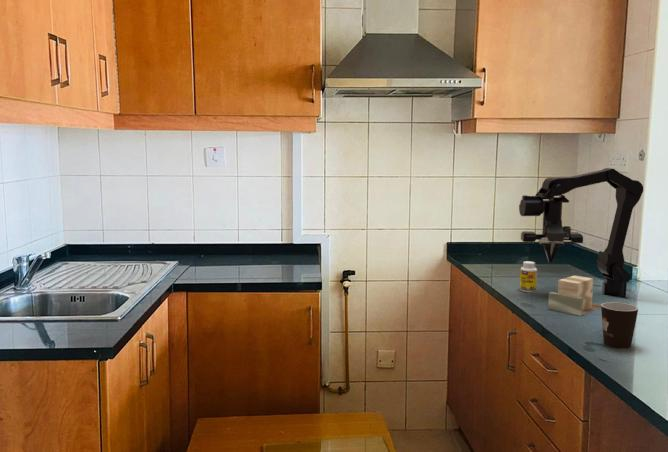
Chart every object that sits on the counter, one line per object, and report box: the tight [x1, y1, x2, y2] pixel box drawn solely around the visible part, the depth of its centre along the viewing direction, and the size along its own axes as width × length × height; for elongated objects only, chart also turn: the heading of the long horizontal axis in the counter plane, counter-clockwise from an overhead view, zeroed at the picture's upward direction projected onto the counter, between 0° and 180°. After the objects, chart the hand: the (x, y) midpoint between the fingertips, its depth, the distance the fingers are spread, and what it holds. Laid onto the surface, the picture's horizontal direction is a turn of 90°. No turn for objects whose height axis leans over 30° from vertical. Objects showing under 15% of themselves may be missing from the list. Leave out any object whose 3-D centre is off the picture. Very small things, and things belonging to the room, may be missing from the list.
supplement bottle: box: [519, 260, 538, 293], centre depth 212 cm, size 6×6×10 cm
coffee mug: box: [600, 301, 639, 350], centre depth 157 cm, size 12×9×10 cm
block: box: [557, 275, 594, 311], centre depth 184 cm, size 10×6×9 cm, turn 132°
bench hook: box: [547, 291, 601, 317], centre depth 186 cm, size 16×10×6 cm, turn 132°
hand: (550, 263), depth 201 cm, fingers closed
